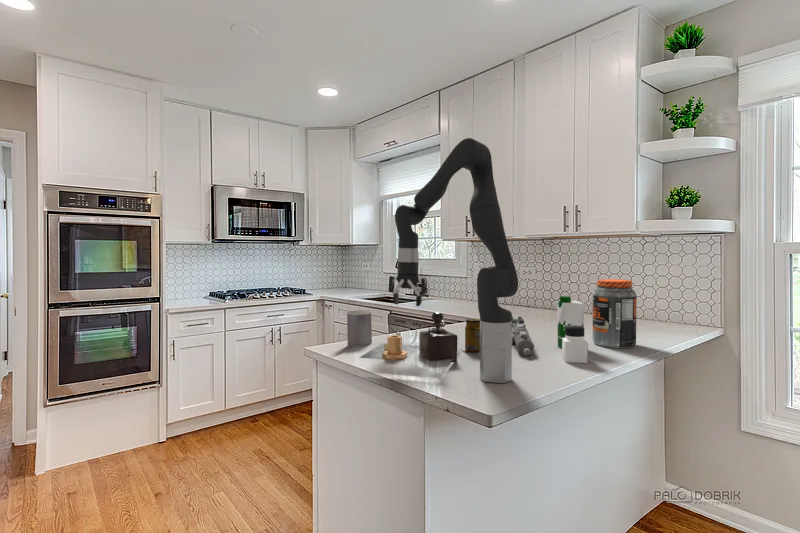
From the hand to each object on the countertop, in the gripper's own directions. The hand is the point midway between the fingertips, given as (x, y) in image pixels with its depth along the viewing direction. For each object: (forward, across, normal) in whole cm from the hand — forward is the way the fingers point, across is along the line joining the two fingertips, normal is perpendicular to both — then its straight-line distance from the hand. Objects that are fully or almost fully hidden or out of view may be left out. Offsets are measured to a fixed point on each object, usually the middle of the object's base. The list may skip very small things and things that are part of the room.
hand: (407, 305), depth 158 cm
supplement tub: (+17, +71, +46) cm, 86 cm away
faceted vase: (+17, 0, -10) cm, 19 cm away
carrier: (+18, -5, -2) cm, 19 cm away
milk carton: (+17, +55, +32) cm, 66 cm away
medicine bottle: (+17, +57, +13) cm, 61 cm away
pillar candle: (+19, -23, +6) cm, 30 cm away
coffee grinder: (+18, +15, -5) cm, 24 cm away
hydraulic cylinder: (+18, +37, +27) cm, 49 cm away
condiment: (+18, +22, +14) cm, 31 cm away
